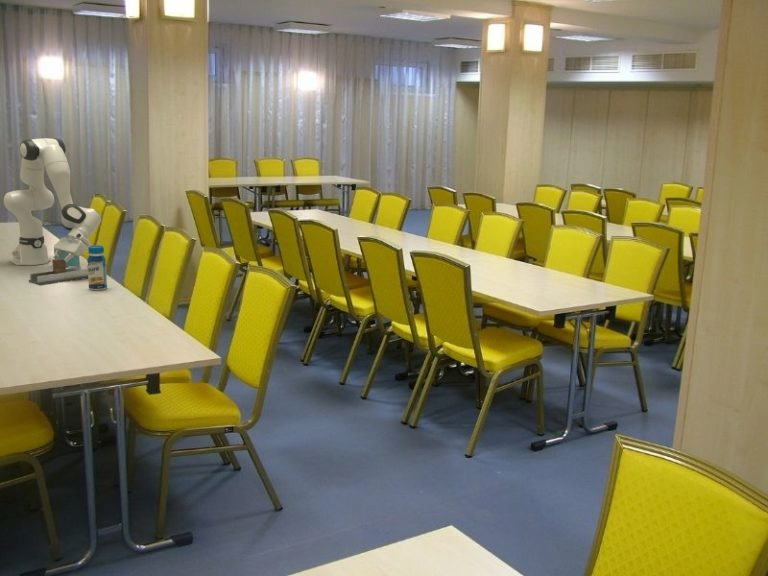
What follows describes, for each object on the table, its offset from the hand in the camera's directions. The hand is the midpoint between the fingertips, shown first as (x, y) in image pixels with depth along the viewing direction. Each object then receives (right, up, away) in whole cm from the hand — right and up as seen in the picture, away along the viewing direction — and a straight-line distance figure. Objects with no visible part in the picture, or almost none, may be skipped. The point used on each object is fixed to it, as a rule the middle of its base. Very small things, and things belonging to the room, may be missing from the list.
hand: (59, 259), depth 402 cm
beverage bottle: (+24, -14, -15) cm, 32 cm away
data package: (-9, -2, +34) cm, 35 cm away
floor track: (-1, -10, +2) cm, 10 cm away
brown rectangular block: (-1, -9, +1) cm, 9 cm away
